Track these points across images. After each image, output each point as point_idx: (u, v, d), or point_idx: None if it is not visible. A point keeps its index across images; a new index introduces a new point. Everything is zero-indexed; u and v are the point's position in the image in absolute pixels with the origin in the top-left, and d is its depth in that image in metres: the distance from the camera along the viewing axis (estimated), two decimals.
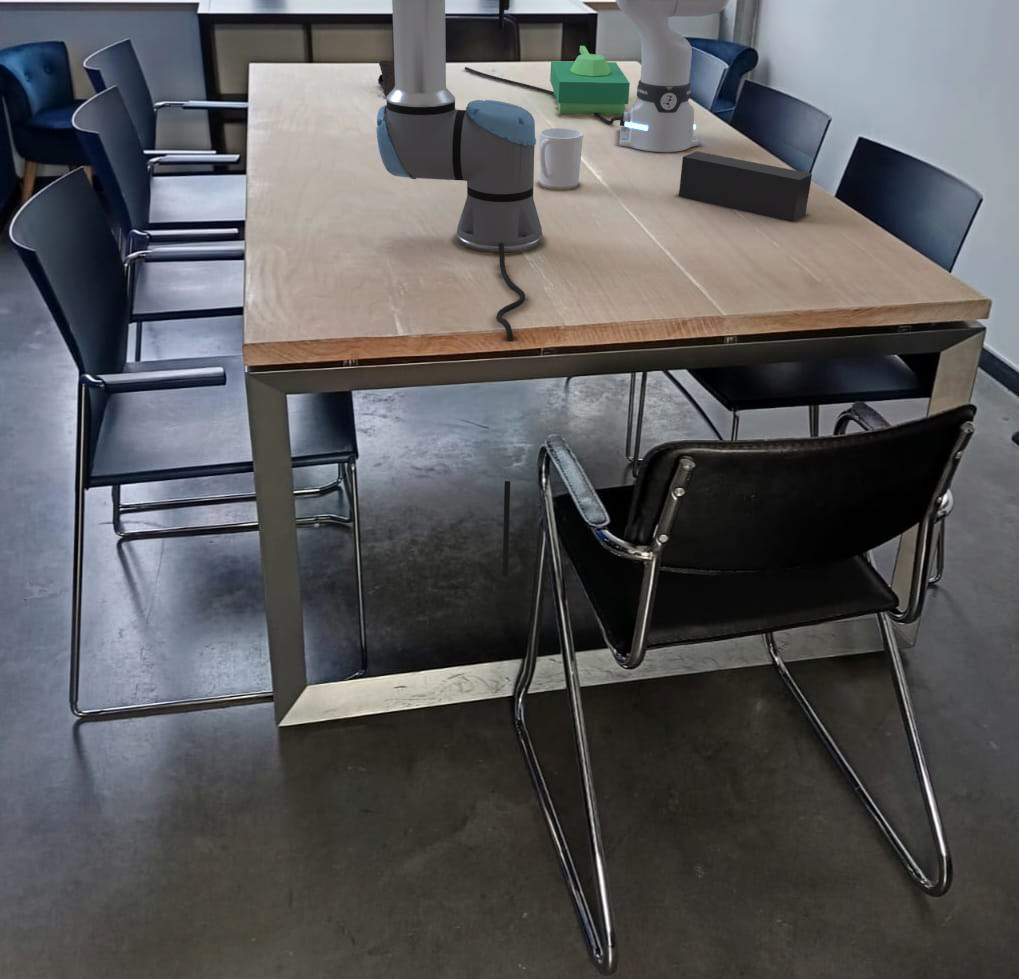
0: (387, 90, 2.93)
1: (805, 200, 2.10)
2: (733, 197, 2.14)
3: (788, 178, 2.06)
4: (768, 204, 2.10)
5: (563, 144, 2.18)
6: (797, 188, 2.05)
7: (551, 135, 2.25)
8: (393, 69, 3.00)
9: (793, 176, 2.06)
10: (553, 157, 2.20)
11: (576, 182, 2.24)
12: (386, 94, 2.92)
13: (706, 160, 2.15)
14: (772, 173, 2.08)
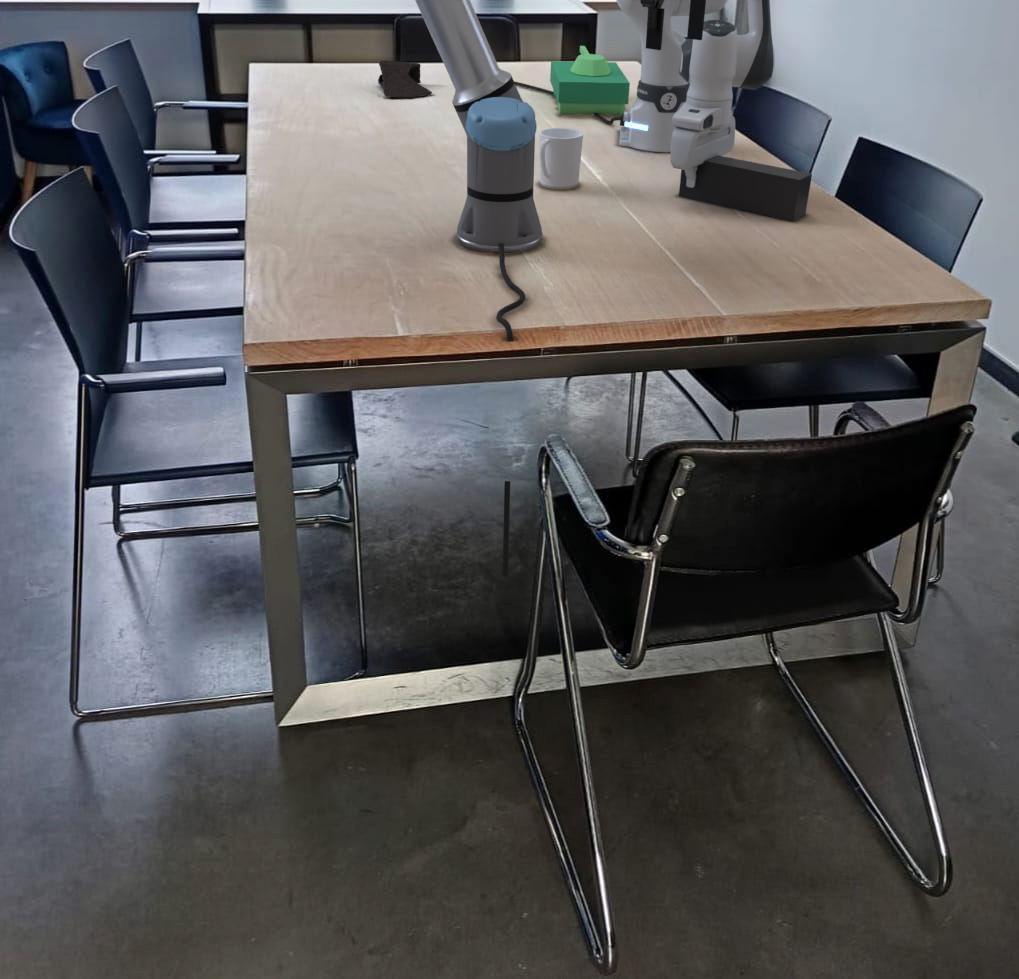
0: (387, 90, 2.93)
1: (805, 200, 2.10)
2: (733, 197, 2.14)
3: (788, 178, 2.06)
4: (768, 204, 2.10)
5: (563, 144, 2.18)
6: (797, 188, 2.05)
7: (551, 135, 2.25)
8: (393, 69, 3.00)
9: (793, 176, 2.06)
10: (553, 157, 2.20)
11: (576, 182, 2.24)
12: (386, 94, 2.92)
13: (706, 160, 2.15)
14: (772, 173, 2.08)
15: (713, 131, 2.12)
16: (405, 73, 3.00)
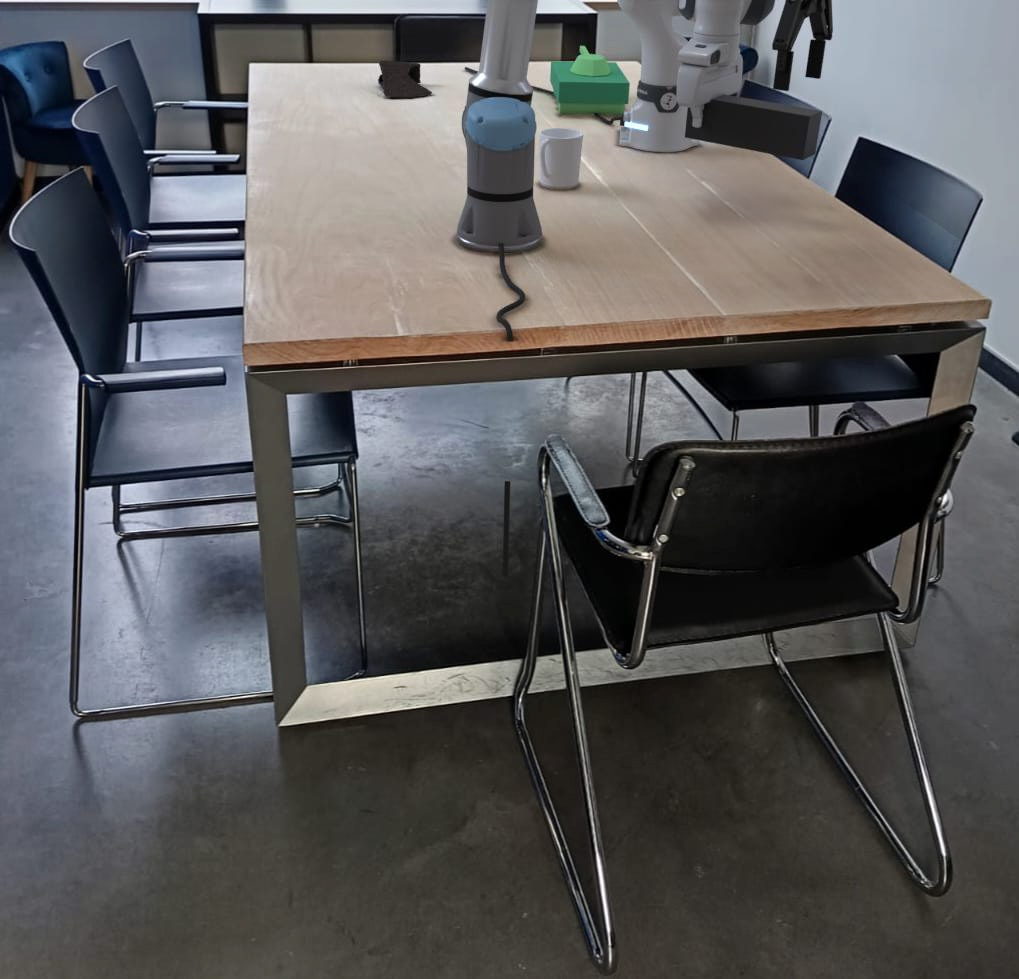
0: (387, 90, 2.93)
1: (815, 139, 2.04)
2: (741, 137, 2.08)
3: (797, 115, 2.00)
4: (777, 143, 2.04)
5: (563, 144, 2.18)
6: (807, 125, 2.00)
7: (551, 135, 2.25)
8: (393, 69, 3.00)
9: (803, 113, 2.01)
10: (553, 157, 2.20)
11: (576, 182, 2.24)
12: (386, 94, 2.92)
13: (713, 99, 2.09)
14: (781, 110, 2.02)
15: (720, 68, 2.06)
16: (405, 73, 3.00)
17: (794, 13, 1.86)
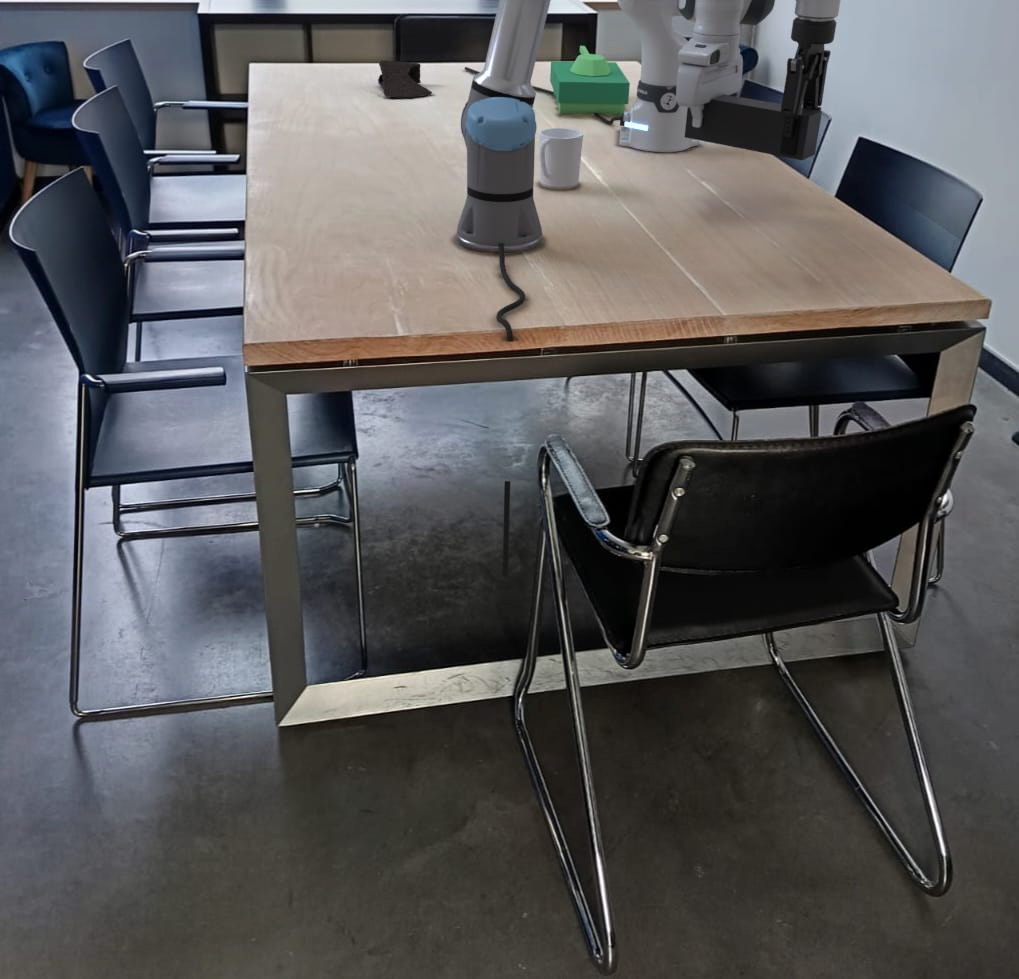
0: (387, 90, 2.93)
1: (815, 139, 2.04)
2: (741, 137, 2.08)
3: None
4: (776, 143, 2.04)
5: (563, 144, 2.18)
6: (806, 125, 1.99)
7: (551, 135, 2.25)
8: (393, 69, 3.00)
9: (802, 113, 2.00)
10: (553, 157, 2.20)
11: (576, 182, 2.24)
12: (386, 94, 2.92)
13: (713, 98, 2.09)
14: None
15: (720, 68, 2.06)
16: (405, 73, 3.00)
17: (797, 83, 1.94)
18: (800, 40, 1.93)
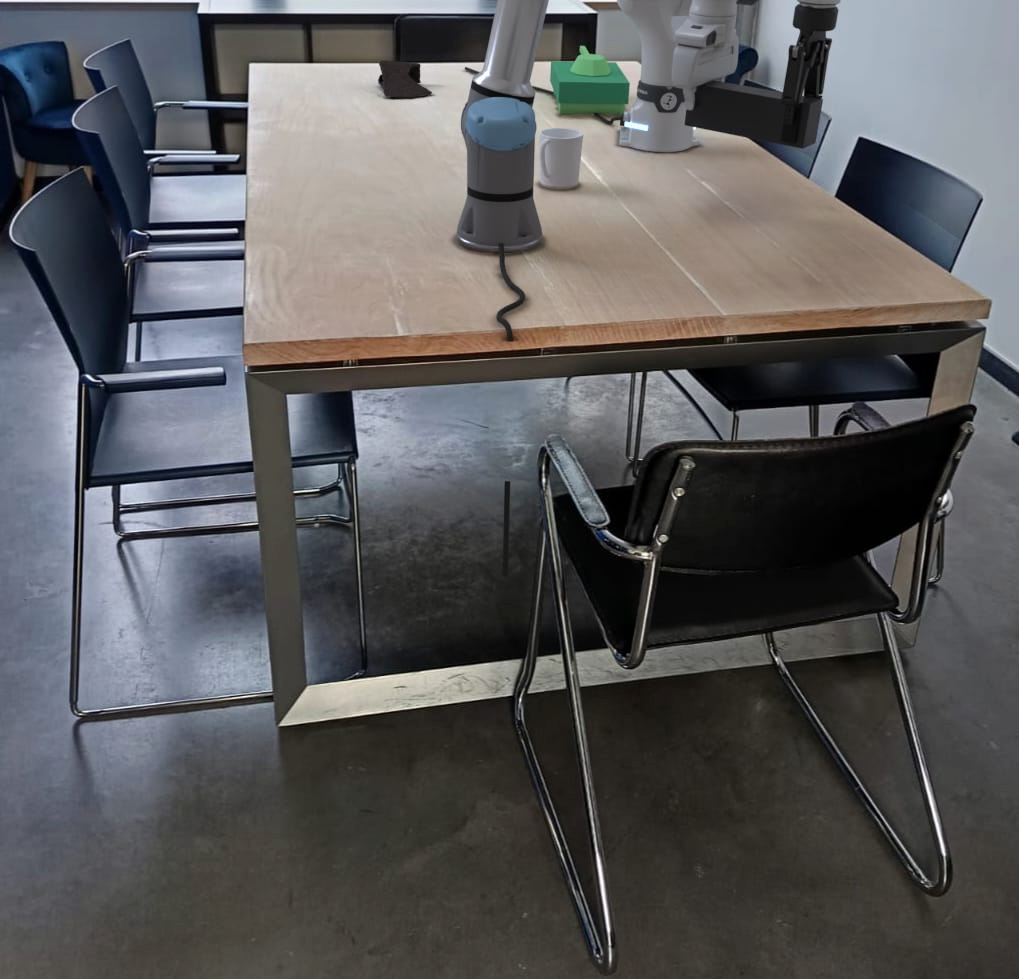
0: (387, 90, 2.93)
1: (815, 128, 2.03)
2: (741, 125, 2.07)
3: None
4: (777, 131, 2.03)
5: (563, 144, 2.18)
6: (807, 113, 1.98)
7: (551, 135, 2.25)
8: (393, 69, 3.00)
9: (803, 101, 1.99)
10: (553, 157, 2.20)
11: (576, 182, 2.24)
12: (386, 94, 2.92)
13: (713, 86, 2.08)
14: None
15: (716, 49, 2.05)
16: (405, 73, 3.00)
17: (798, 70, 1.93)
18: (802, 27, 1.92)
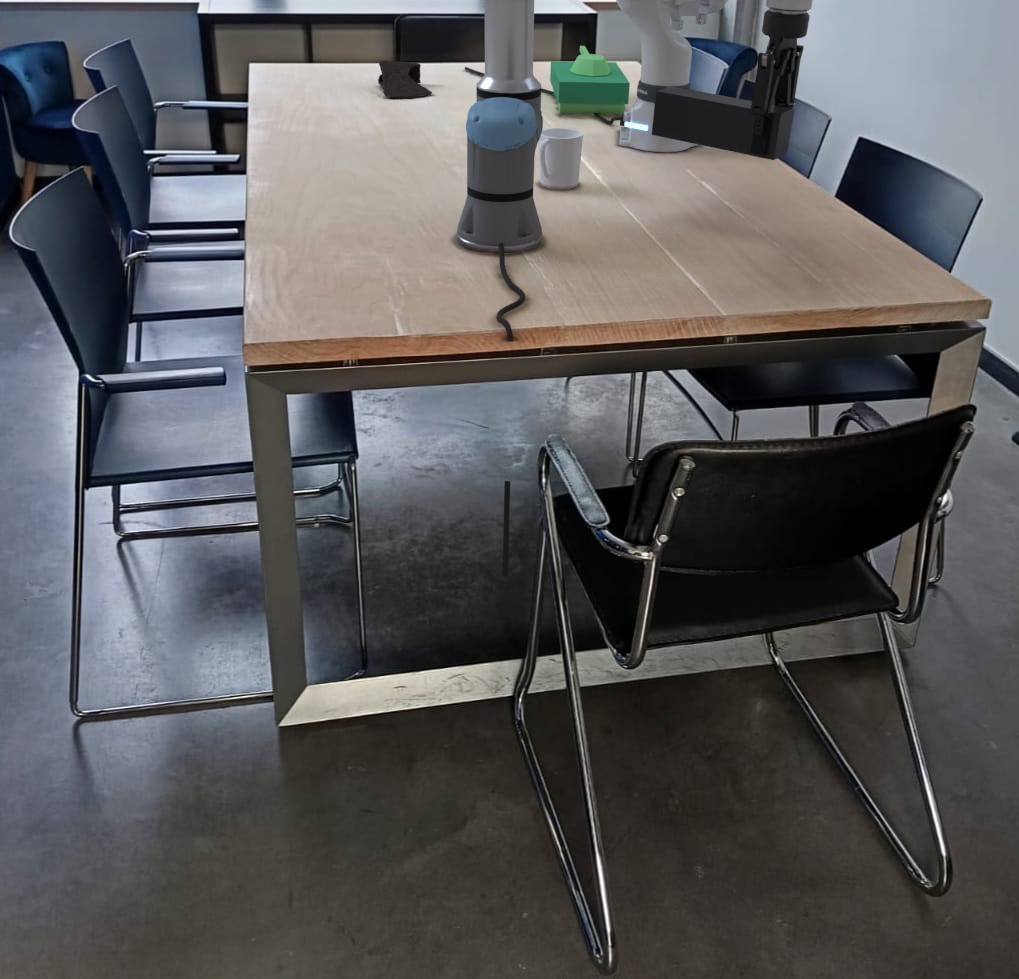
0: (387, 90, 2.93)
1: (787, 138, 1.95)
2: (710, 135, 1.99)
3: None
4: (747, 142, 1.95)
5: (563, 144, 2.18)
6: (778, 123, 1.90)
7: (551, 135, 2.25)
8: (393, 69, 3.00)
9: (774, 110, 1.91)
10: (553, 157, 2.20)
11: (576, 182, 2.24)
12: (386, 94, 2.92)
13: (681, 94, 1.99)
14: None
15: None
16: (405, 73, 3.00)
17: (768, 79, 1.85)
18: (771, 34, 1.84)
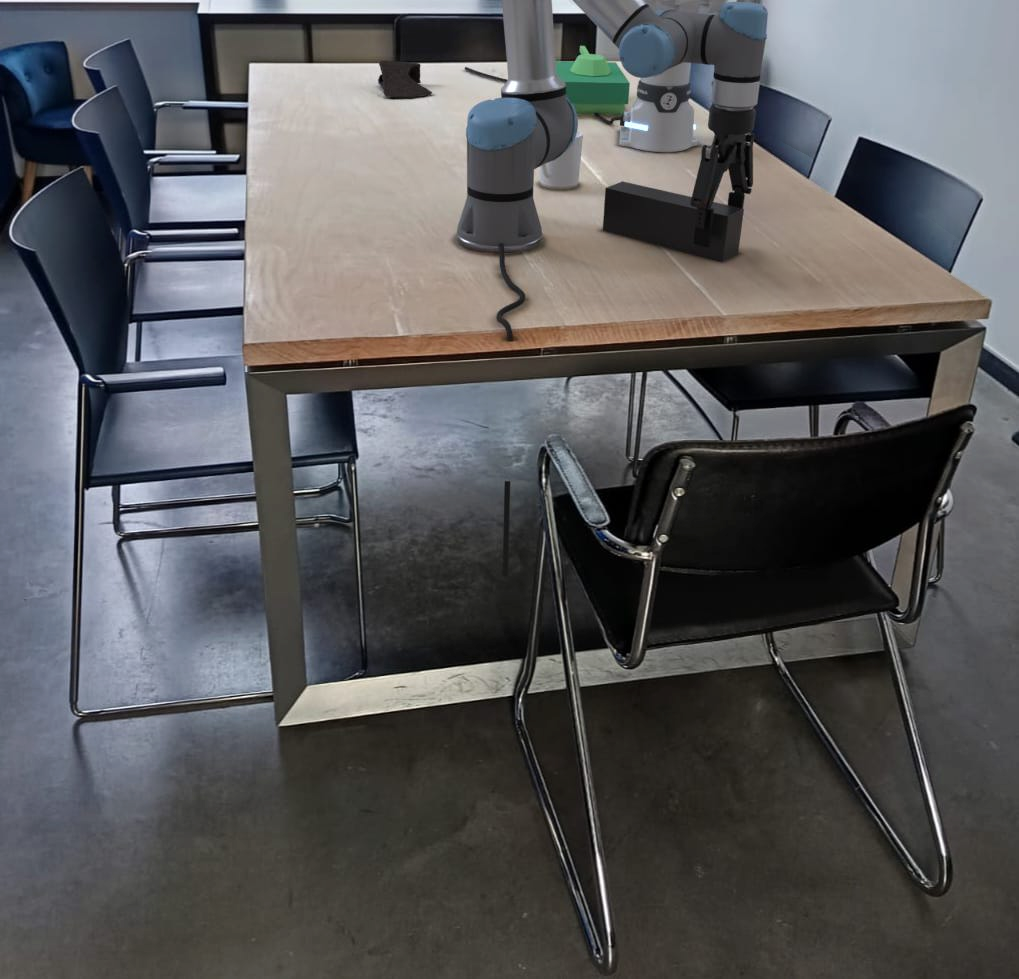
0: (387, 90, 2.93)
1: (737, 238, 1.90)
2: (659, 233, 1.94)
3: (716, 214, 1.86)
4: None
5: None
6: (726, 225, 1.86)
7: None
8: (393, 69, 3.00)
9: (722, 212, 1.87)
10: None
11: (576, 182, 2.24)
12: (386, 94, 2.92)
13: (630, 192, 1.95)
14: None
15: None
16: (405, 73, 3.00)
17: (710, 172, 1.79)
18: (716, 130, 1.79)
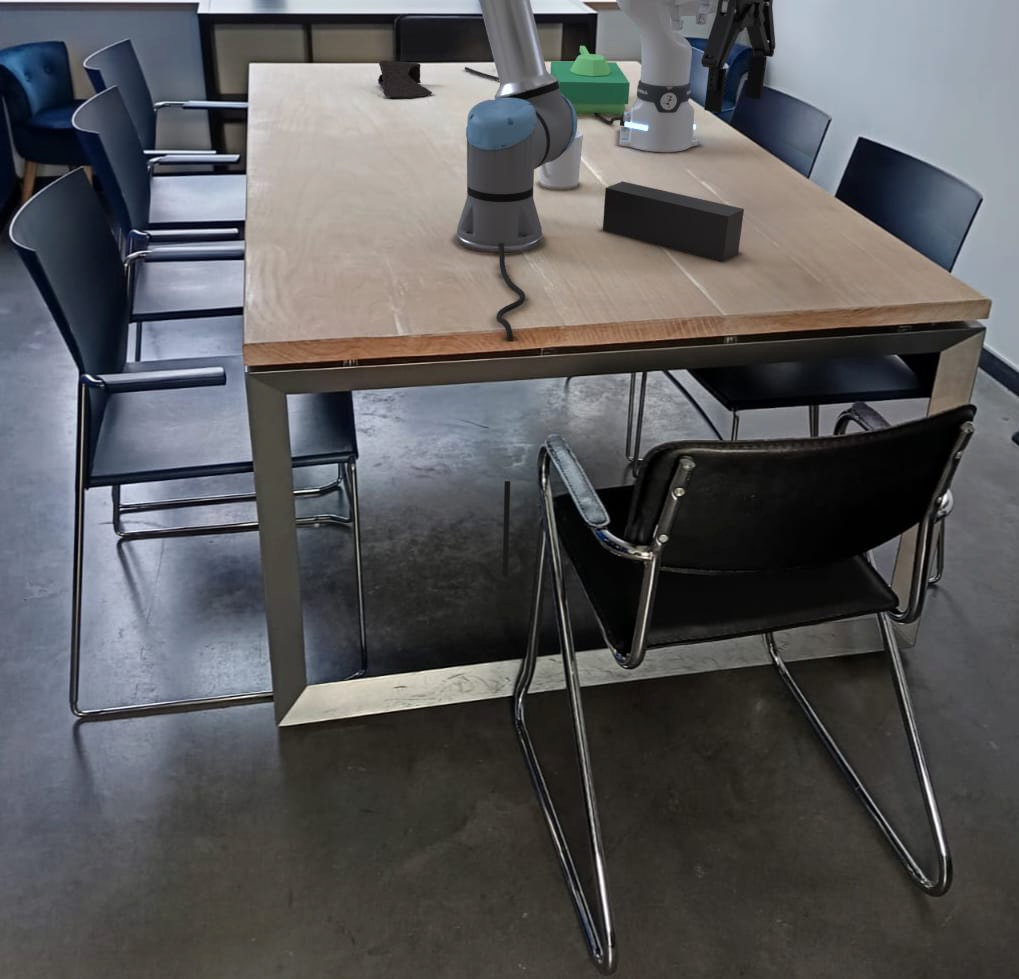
0: (387, 90, 2.93)
1: (737, 238, 1.90)
2: (659, 233, 1.94)
3: (716, 214, 1.86)
4: (696, 242, 1.90)
5: None
6: (726, 225, 1.86)
7: None
8: (393, 69, 3.00)
9: (722, 212, 1.87)
10: None
11: (576, 182, 2.24)
12: (386, 94, 2.92)
13: (630, 192, 1.95)
14: (699, 208, 1.88)
15: None
16: (405, 73, 3.00)
17: (725, 26, 1.67)
18: None
